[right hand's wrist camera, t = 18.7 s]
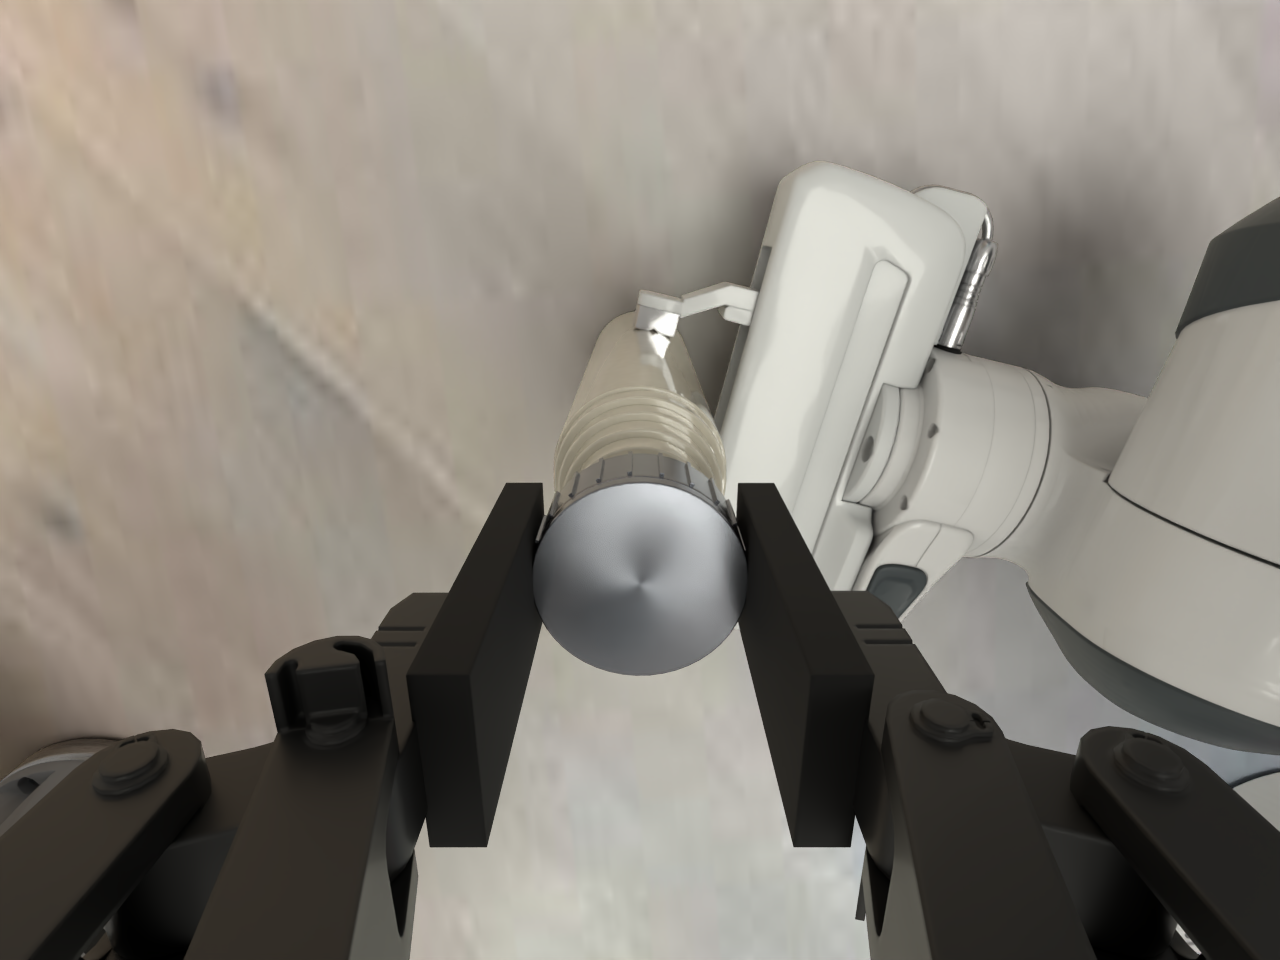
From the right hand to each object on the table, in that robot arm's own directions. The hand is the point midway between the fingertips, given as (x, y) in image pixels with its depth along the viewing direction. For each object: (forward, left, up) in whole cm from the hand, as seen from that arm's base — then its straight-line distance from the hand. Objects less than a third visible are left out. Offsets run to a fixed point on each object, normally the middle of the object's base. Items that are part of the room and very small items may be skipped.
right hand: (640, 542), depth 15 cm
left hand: (-1, 0, -16) cm, 16 cm away
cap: (0, 0, +1) cm, 1 cm away
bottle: (0, 0, -22) cm, 22 cm away
